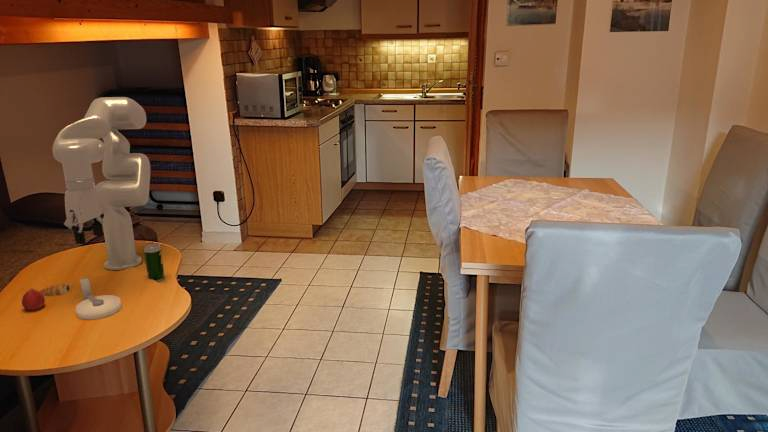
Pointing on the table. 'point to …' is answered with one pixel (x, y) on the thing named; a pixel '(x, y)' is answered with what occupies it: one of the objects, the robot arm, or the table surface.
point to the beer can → (154, 262)
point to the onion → (33, 300)
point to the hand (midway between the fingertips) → (89, 239)
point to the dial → (96, 304)
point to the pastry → (55, 290)
